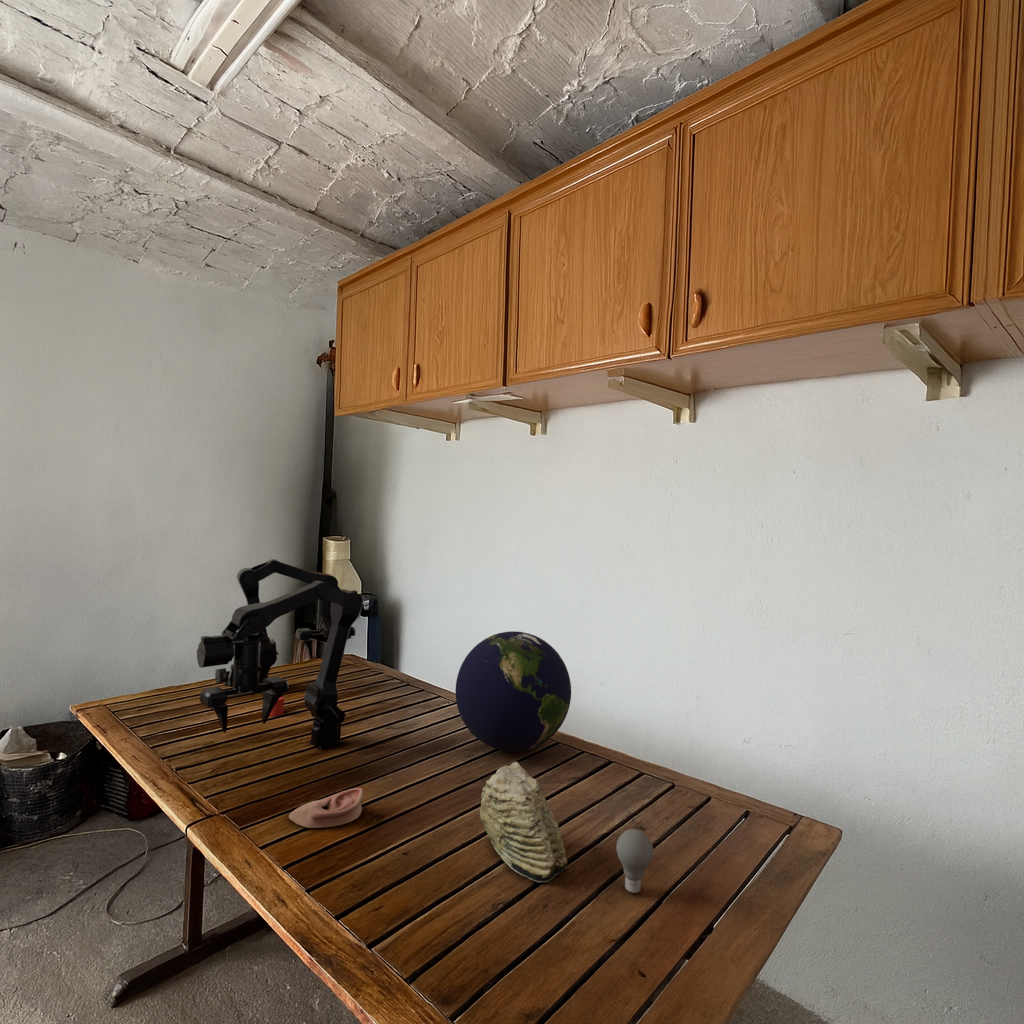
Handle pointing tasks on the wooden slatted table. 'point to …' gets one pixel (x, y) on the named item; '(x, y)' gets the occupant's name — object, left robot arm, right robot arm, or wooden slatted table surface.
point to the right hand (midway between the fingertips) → (244, 727)
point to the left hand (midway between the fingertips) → (325, 657)
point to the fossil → (522, 824)
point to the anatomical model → (330, 810)
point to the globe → (513, 691)
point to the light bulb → (634, 857)
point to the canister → (278, 707)
